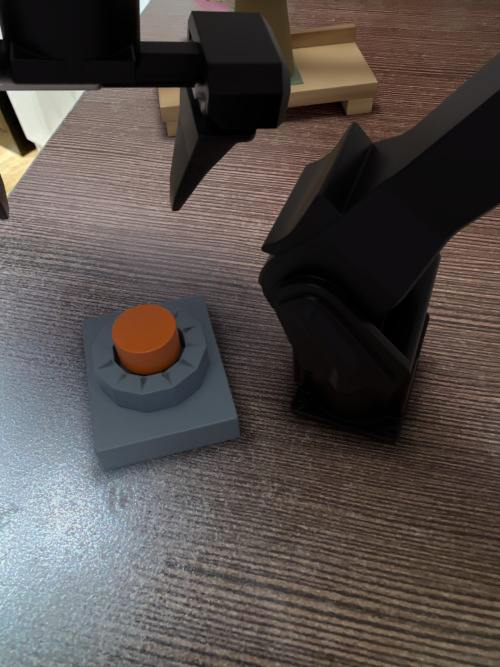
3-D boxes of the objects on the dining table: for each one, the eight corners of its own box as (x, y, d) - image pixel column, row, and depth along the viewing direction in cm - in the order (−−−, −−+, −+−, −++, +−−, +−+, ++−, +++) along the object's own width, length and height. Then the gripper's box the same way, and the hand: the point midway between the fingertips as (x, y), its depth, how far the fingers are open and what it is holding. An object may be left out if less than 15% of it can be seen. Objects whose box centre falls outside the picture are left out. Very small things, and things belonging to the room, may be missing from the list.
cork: (270, 93, 54) (268, -44, 46) (217, 75, 57) (206, -58, 48) (306, 65, 57) (311, -68, 49) (255, 50, 60) (250, -80, 51)
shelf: (374, 112, 57) (380, 65, 54) (165, 137, 56) (157, 91, 52) (350, 67, 63) (354, 23, 59) (160, 89, 62) (152, 45, 58)
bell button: (186, 367, 34) (181, 344, 32) (122, 381, 34) (115, 359, 32) (175, 321, 36) (170, 298, 35) (115, 334, 36) (108, 311, 34)
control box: (240, 438, 35) (236, 399, 32) (103, 472, 34) (86, 436, 31) (205, 315, 41) (199, 273, 38) (89, 340, 40) (73, 300, 37)
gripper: (261, -173, 28) (228, 120, 40) (-197, -218, 24) (-76, 125, 36) (328, -69, 22) (264, 239, 34) (-277, -104, 17) (-97, 261, 30)
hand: (92, 210), depth 34 cm, fingers open, 9 cm apart
